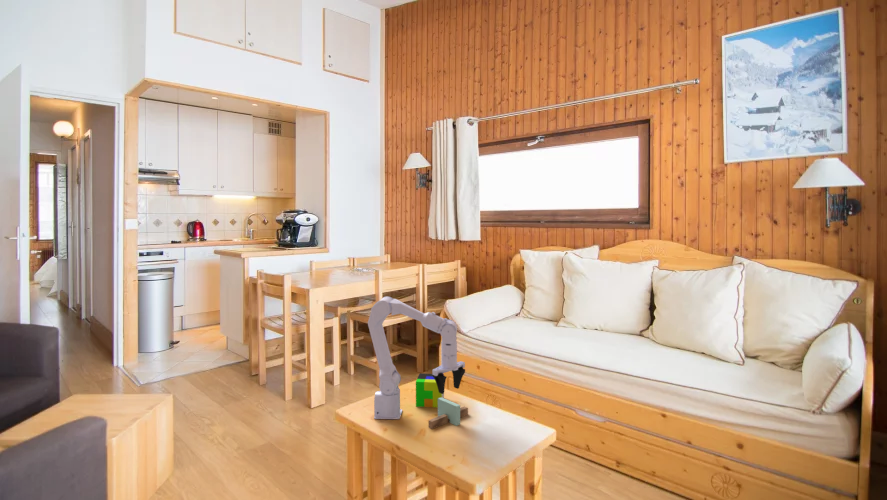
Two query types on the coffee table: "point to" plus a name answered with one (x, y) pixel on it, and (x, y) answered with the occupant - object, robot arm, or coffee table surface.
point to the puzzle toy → (427, 391)
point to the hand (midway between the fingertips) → (449, 390)
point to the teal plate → (449, 410)
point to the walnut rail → (445, 418)
